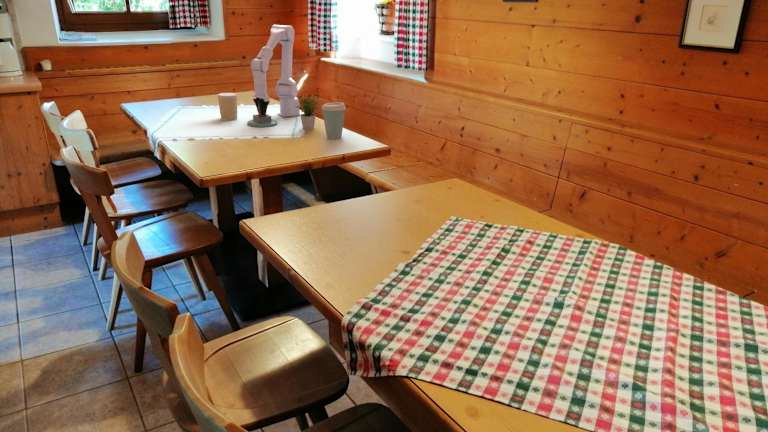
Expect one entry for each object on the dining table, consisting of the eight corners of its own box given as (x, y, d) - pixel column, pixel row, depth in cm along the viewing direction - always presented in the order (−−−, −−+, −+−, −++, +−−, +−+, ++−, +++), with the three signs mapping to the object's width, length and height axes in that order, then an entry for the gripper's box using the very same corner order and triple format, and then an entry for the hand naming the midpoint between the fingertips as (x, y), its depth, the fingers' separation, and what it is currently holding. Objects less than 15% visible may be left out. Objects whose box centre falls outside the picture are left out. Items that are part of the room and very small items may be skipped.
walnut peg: (263, 118, 271) (262, 101, 268) (266, 119, 269) (265, 102, 266) (257, 118, 269) (257, 102, 266) (260, 120, 267) (259, 103, 264)
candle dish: (270, 119, 279) (269, 111, 277) (282, 125, 268) (281, 117, 267) (243, 122, 272) (242, 114, 270) (254, 128, 261) (253, 120, 259)
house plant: (318, 133, 256) (317, 97, 249) (289, 131, 258) (287, 95, 252) (327, 126, 268) (326, 92, 262) (299, 124, 271) (298, 90, 265)
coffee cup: (241, 117, 282) (239, 93, 278) (235, 121, 274) (233, 96, 269) (223, 116, 283) (221, 92, 279) (216, 120, 274) (214, 95, 270)
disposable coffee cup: (324, 140, 244) (323, 106, 238) (320, 134, 254) (319, 101, 248) (348, 139, 247) (348, 105, 241) (343, 133, 256) (343, 100, 251)
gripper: (246, 83, 266) (248, 112, 272) (258, 88, 255) (259, 117, 260) (260, 82, 270) (262, 110, 275) (272, 87, 259) (274, 116, 264)
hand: (261, 114), depth 268 cm, fingers closed on walnut peg, 3 cm apart
